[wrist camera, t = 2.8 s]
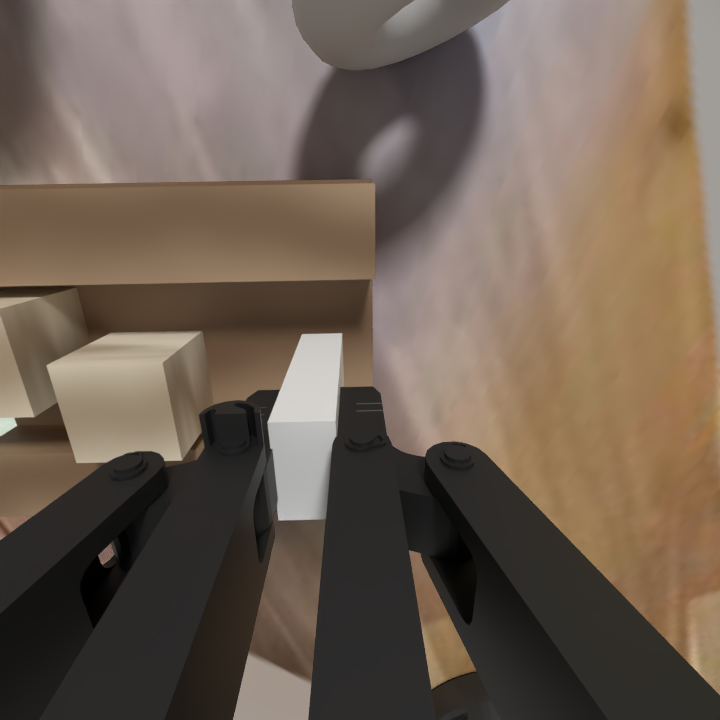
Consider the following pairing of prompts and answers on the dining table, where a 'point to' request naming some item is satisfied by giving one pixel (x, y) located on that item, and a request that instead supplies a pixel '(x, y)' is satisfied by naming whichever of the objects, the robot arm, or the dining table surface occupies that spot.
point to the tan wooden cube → (35, 345)
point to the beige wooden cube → (133, 394)
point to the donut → (383, 27)
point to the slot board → (189, 287)
